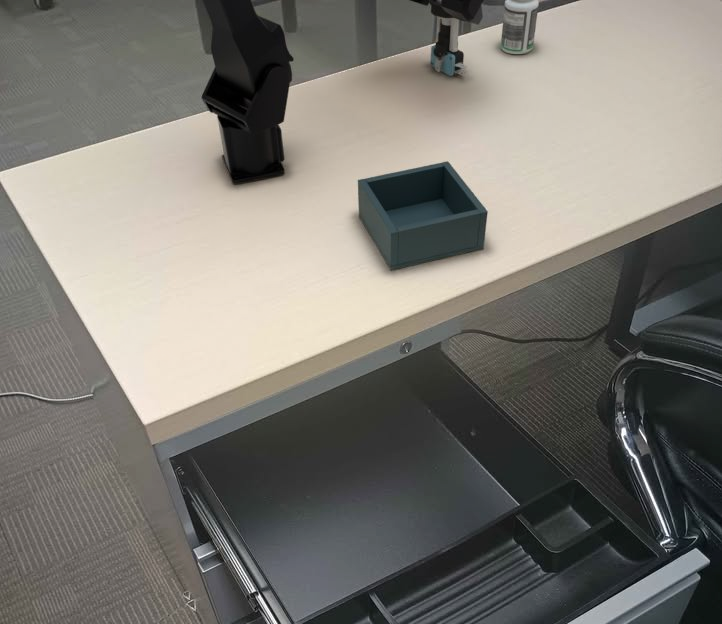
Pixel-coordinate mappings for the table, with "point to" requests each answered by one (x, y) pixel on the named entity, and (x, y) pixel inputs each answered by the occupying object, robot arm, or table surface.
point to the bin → (421, 215)
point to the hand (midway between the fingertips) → (453, 11)
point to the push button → (446, 43)
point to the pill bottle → (519, 26)
